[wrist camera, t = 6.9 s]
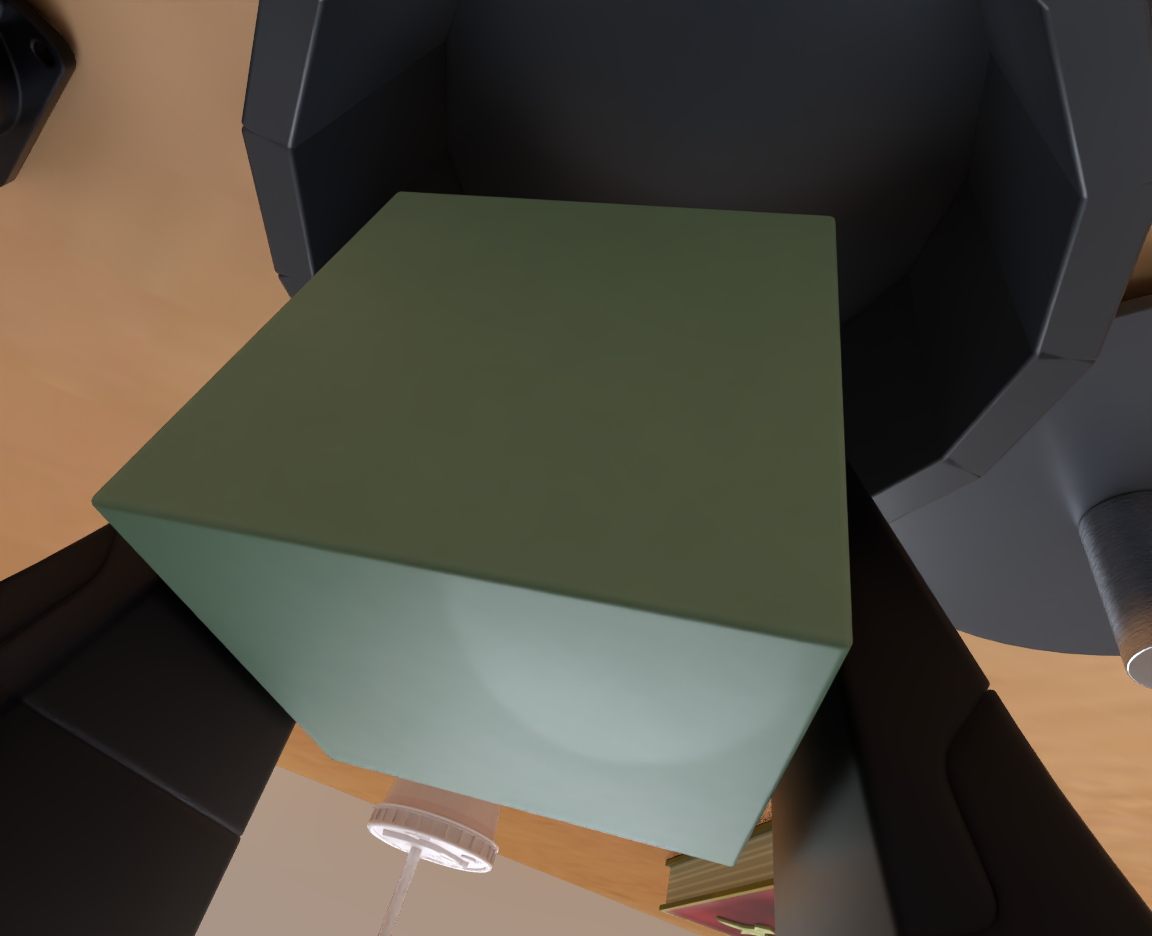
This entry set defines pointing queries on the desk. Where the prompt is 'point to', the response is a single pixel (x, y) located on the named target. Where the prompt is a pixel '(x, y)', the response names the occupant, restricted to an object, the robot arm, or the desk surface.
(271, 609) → the block
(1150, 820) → the desk surface
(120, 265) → the desk surface
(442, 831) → the smoothie
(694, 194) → the pot
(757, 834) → the hardcover book
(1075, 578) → the lid
